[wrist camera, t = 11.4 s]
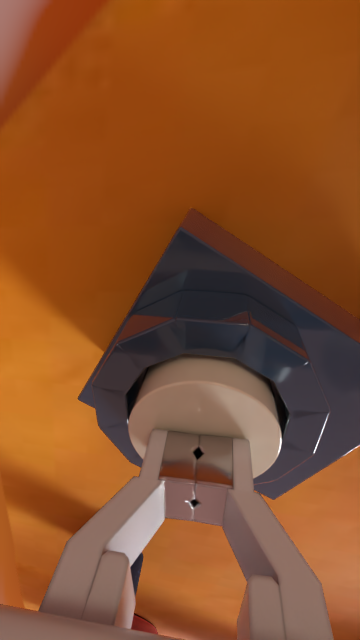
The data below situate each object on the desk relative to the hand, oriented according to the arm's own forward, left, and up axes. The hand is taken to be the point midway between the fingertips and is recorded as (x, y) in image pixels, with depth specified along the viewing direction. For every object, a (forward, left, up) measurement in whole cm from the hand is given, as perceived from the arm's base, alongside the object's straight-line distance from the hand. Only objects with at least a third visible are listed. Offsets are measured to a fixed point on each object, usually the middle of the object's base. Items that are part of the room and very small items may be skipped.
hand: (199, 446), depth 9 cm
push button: (-1, -1, -6) cm, 7 cm away
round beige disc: (0, 0, -2) cm, 2 cm away
